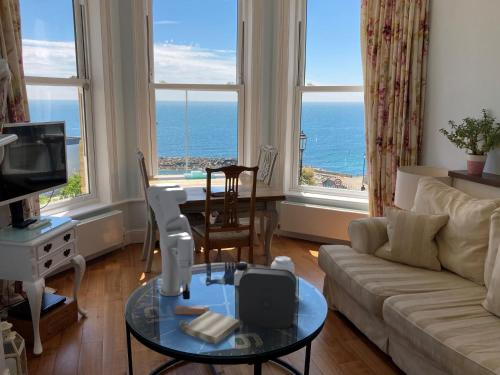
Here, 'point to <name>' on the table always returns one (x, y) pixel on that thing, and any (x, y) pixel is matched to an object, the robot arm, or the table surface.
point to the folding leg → (191, 310)
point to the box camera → (239, 272)
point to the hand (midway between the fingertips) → (186, 298)
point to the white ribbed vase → (283, 264)
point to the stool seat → (210, 327)
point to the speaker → (267, 297)
